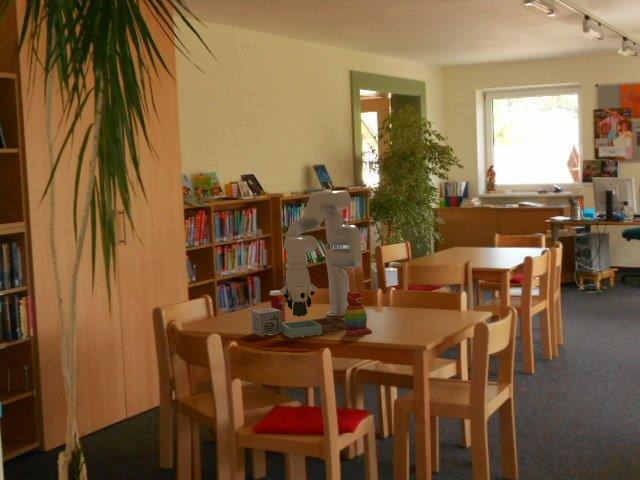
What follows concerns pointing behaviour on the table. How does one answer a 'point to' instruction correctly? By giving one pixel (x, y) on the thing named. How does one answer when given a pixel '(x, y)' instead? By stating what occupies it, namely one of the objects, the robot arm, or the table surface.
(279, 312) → the icon cube
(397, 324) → the table surface
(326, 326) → the walnut corral
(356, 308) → the stacking bear
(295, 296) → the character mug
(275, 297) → the paper cup
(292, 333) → the bin
